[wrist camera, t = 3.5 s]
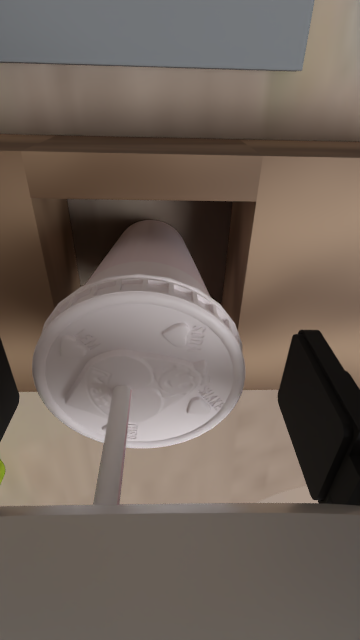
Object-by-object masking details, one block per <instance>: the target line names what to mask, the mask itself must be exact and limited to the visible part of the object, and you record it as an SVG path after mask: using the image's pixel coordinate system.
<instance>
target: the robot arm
mask: <svg viewBox="0 0 360 640" xmlns="http://www.w3.org/2000/svg"><path fill="white" fill-rule="evenodd" d="M18 403H19V392H18V389H17V386H16V383H15V380H14V377H13V374H12V371H11V368H10V365H9V362H8V359H7V356H6V353H5V350H4V347H3V344H2V341H1V338H0V441H1V439H2V437H3V435H4V433H5V431H6V429H7V427H8V425H9V423H10V421H11V419H12V416H13V414H14V412H15V410H16V408H17V406H18ZM278 403H279V407H280V409H281V412H282V415H283V418H284V421H285V424H286V427H287V429H288V432H289V435H290V438H291V441H292V444H293V447H294V449H295V452H296V455H297V458H298V461H299V464H300V467H301V469H302V472H303V475H304V478H305V481H306V484H307V487H308V489H309V492H310V495H311V497H312V499H313V500H318V502H319V504H317V503H315V504H314V503H312V504H311V503H211V504H121V505H55V506H1V507H0V640H360V389H359V387H358V386H357V384H356V383H355V381H354V380H353V378H352V377H351V375H350V374H349V373H348V372H347V371H345V370H344V368H343V367H342V365H341V363H340V362H339V360H338V359H337V357H336V356H335V354H334V352H333V351H332V349H331V348H330V346H329V344H328V343H327V341H326V340H325V338H324V336H323V335H322V333H321V332H320V331H319V330H300V331H299V332H298V334H294V335H293V336H292V340H291V344H290V348H289V352H288V356H287V360H286V364H285V368H284V372H283V376H282V380H281V384H280V388H279V391H278Z"/></svg>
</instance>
